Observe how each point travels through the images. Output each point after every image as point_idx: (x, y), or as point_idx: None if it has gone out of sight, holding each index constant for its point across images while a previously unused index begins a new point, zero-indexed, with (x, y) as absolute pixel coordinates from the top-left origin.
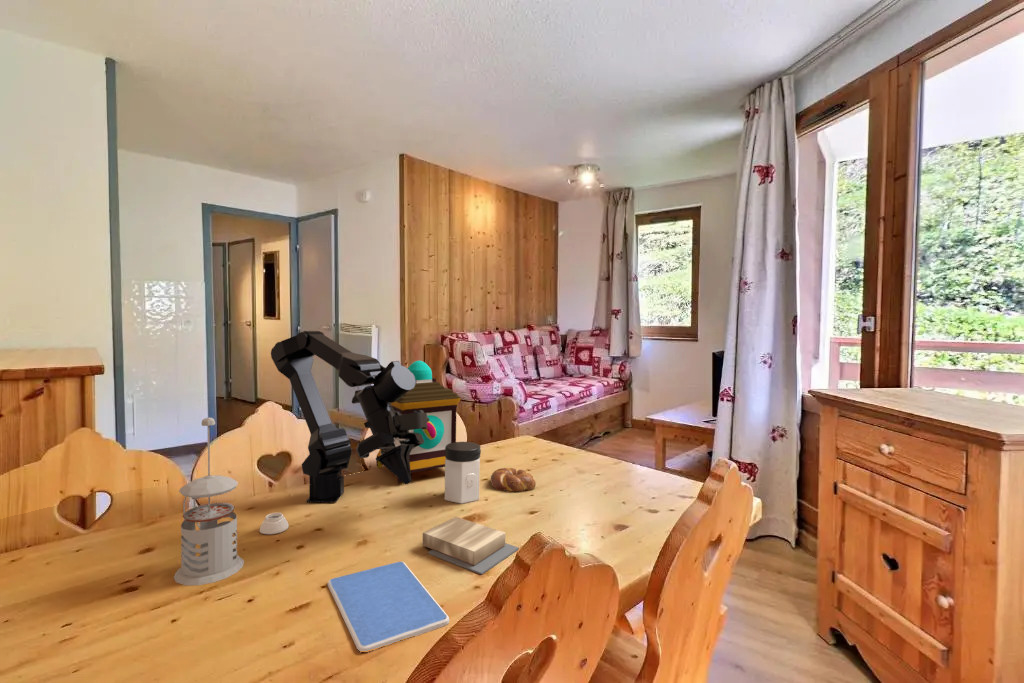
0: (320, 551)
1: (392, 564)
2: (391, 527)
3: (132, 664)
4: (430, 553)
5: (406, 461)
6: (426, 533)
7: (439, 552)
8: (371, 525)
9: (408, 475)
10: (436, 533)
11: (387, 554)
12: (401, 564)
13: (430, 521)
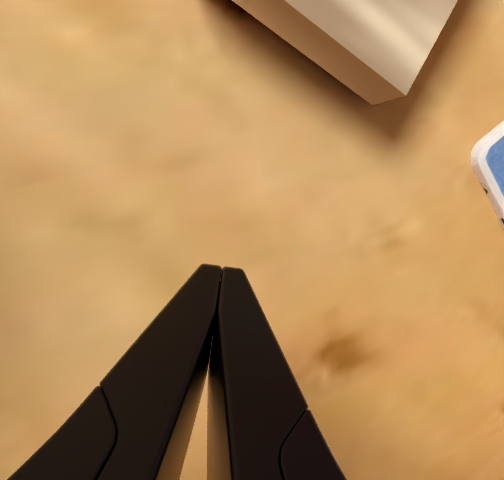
0: (409, 452)
1: (502, 179)
2: None
3: None
4: None
5: (159, 462)
6: (411, 75)
7: None
8: None
9: (243, 306)
10: (411, 23)
11: (417, 227)
12: (501, 148)
13: (91, 132)
